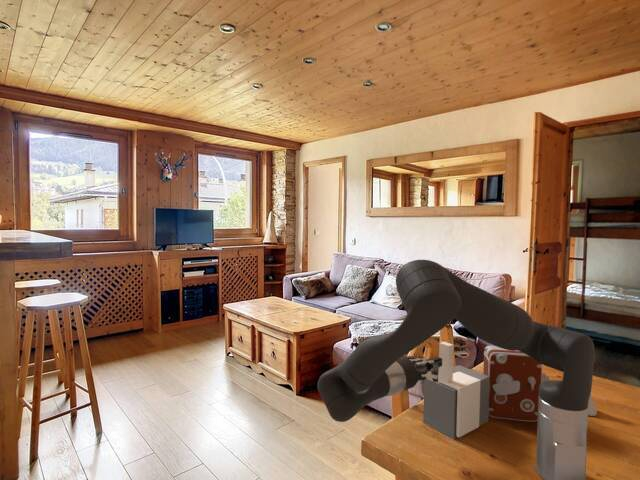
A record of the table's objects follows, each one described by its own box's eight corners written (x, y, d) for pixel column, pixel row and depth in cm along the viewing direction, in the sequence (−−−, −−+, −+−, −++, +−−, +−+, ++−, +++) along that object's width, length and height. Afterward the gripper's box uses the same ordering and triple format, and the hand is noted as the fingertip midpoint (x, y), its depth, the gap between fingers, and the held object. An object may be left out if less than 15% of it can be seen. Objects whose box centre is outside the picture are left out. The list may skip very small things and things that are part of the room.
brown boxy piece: (562, 428, 103) (565, 357, 102) (487, 420, 107) (489, 351, 106) (549, 411, 112) (552, 346, 111) (480, 404, 116) (482, 341, 115)
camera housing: (464, 403, 116) (465, 362, 116) (495, 417, 108) (496, 373, 107) (423, 422, 105) (424, 377, 105) (453, 439, 97) (455, 391, 96)
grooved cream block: (457, 415, 107) (459, 337, 106) (479, 426, 101) (481, 343, 100) (437, 425, 102) (439, 342, 101) (458, 437, 96) (461, 350, 95)
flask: (569, 412, 111) (571, 380, 110) (567, 402, 117) (568, 371, 117) (599, 419, 108) (601, 385, 107) (595, 408, 114) (596, 376, 113)
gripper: (415, 370, 83) (462, 354, 93) (374, 352, 94) (420, 340, 104) (414, 403, 83) (461, 383, 93) (374, 381, 94) (419, 366, 104)
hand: (439, 360), depth 99 cm, fingers closed
